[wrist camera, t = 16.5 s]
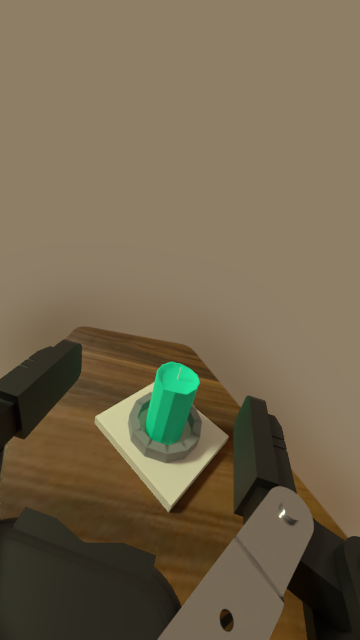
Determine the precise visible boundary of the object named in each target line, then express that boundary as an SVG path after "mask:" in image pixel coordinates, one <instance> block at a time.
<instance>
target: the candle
mask: <svg viewBox="0 0 360 640" xmlns="http://www.w3.org/2000/svg"><path fill="white" fill-rule="evenodd" d="M199 383H200V382H199V379H198V375H197V374H195V373H194V372H193V371H192V370H191V369H189V368H187V367H186V366H184V365H182V364H179V363H175V362H169V363H166V364H164V365H162V366H161V367H160V368H159V369H158V370H157V374H156V378H155V383H154V387H153V391H152V396H151V400H150V405H149V409H148V413H147V418H146V422H145V431H146V433H147V435H148V436H149V438H150V439H151V440H153V441H156V442H159V443H162V444H165V445H171V444H173V443H175V442H177V441H179V439H180V437H181V435H182V433H183V430H184V427H185V424H186V421H187V418H188V415H189V412H190V409H191V407H192V404H193V401H194V398H195V395H196V392H197V389H198V386H199Z"/></svg>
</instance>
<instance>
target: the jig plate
mask: <svg viewBox="0 0 360 640" xmlns="http://www.w3.org/2000/svg"><path fill="white" fill-rule="evenodd" d="M154 383H155V382H154ZM154 383H152V384H151V385H149V386H147V387H146V388H144V389H142V390H140V391H139V392H137V393H135V394H133V395H132V396H130V397H128V398H127V399H125V400H123V401H121V402H120V403H118V404H116V405H115V406H113V407H111V408H109V409H108V410H106V411H104V412H103V413H101V414H99V415H97V416H96V417H95V424H96V425H97V427H98V428H99V429H100V430H101V431H102V433H103V434H104V435H105V436H106V438H107V439H108V440H109V441H110V442H111V444H112V445H113V446H114V447H115V448H116V450H117V451H118V452H119V453H120V454H121V456H122V457H123V458H124V459H125V460H126V462H127V463H128V464H129V465H130V466H131V468H132V469H133V470H134V471H135V472H136V474H137V475H138V476H139V477H140V478H141V480H142V481H143V482H144V483H145V484H146V486H147V487H148V488H149V489H150V490H151V492H152V493H153V494H154V495H155V496H156V498H157V499H158V500H159V501H160V502H161V504H162V505H163V506H164V507H165V508H166V510H167V511H168V512H169V511H170V510H171V509H172V508H173V506H174V505H175V504H176V503H177V501H178V500H179V499H180V498H181V497H182V495H183V494H184V493H185V492H186V490H187V489H188V488H189V487H190V486H191V484H192V483H193V482H194V481H195V479H196V478H197V477H198V476H199V475H200V473H201V472H202V471H203V470H204V468H205V467H206V466H207V465H208V464H209V462H210V461H211V460H212V459H213V457H214V456H215V455H216V454H217V453H218V451H219V450H220V449H221V448H222V446H223V445H224V444H225V443H226V441H227V439H228V437H229V436H228V435H227V434H226V433H224V432H223V431H222V430H221V429H220V428H218V427H217V426H216V425H215V424H214V423H212V422H211V421H210V420H209V419H207V418H206V417H205V416H204V415H203V414H201V413H200V412H199V411H198V410H197V409H196V407H195V406H194V405H193V404H192V407H191V409H190V412H189V415H188V418H187V421H186V424H185V427H184V430H183V433H182V435H181V437H180V439H179V441H177V442H175V443H173V444H171V445H165V444H162V443H159V442H156V441H153V440H151V439H150V438H149V436H148V435H147V433H146V431H145V422H146V418H147V413H148V409H149V405H150V400H151V396H152V391H153V387H154Z"/></svg>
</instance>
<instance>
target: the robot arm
mask: <svg viewBox="0 0 360 640" xmlns="http://www.w3.org/2000/svg"><path fill="white" fill-rule="evenodd" d="M81 364H82V346H81V344H79V343H76V342H72V341H69V340H66V339H65V340H62V341H61V342H60V343H58V344H57V345H56V346H54V347H47V348H44V349H42V350H40V351H37V352H36V353H35V354H33V355H32V356H31V357H29V359H28V360H25V361H24V362H23V363H22V364H21V365H19V366H17V367H16V368H15V369H13V370H12V371H10V372H9V373H8V374H7V375H5V376H4V377H2V378H1V379H0V640H269V638H270V636H271V634H272V632H273V630H274V628H275V625H276V623H277V621H278V619H279V617H280V614H281V612H282V609H283V606H284V599H283V595H284V592H285V590H286V588H287V589H288V590H289V591H290V592H292V593H293V594H294V595H295V596H297V597H298V598H299V599H300V600H301V601H302V603H303V610H304V617H305V624H306V632H307V639H308V640H360V537H357V536H352V537H349V538H348V539H346V540H345V541H344V540H343V539H341V538H340V537H338V536H337V535H336V534H334V533H333V532H331V531H330V530H328V529H327V528H325V527H324V526H322V525H321V524H320V523H318V522H317V521H316V520H315V519H314V518H313V517H312V515H311V513H310V510H309V508H308V507H307V505H306V504H305V502H304V501H303V500H302V499H301V498H300V497H299V496H298V495H297V492H296V489H295V484H294V480H293V475H292V471H291V466H290V462H289V457H288V453H287V451H286V444H285V442H284V435H283V431H282V428H281V425H280V424H279V422H278V421H277V419H276V417H275V416H273V415H270V414H268V412H267V406H266V402H265V401H264V400H262V399H258V398H255V397H252V396H247V397H246V398H245V401H244V403H243V405H242V407H241V409H240V411H239V413H238V415H237V418H236V420H235V424H234V431H233V445H234V514H237V515H240V516H243V524H244V526H243V527H242V529H241V530H240V531H239V533H238V534H237V535H236V537H235V538H234V539H233V540H232V541H231V543H230V544H229V545H228V547H227V548H226V549H225V551H224V552H223V553H222V555H221V556H220V557H219V559H218V560H217V561H216V562H215V564H214V565H213V566H212V568H211V569H210V570H209V572H208V573H207V574H206V576H205V577H204V578H203V580H202V581H201V582H200V584H199V585H198V586H197V588H196V589H195V590H194V592H193V593H192V594H191V596H190V597H189V598H188V600H187V601H186V602H185V604H184V605H183V606H182V607H181V604H180V602H179V599H178V597H177V596H176V594H175V592H174V590H173V588H172V587H171V585H170V584H169V582H168V581H167V579H166V578H165V577H164V576H163V575H162V574H161V573H160V571H158V570H157V569H156V568H155V567H154V562H155V558H156V555H154V554H151V553H148V552H145V551H143V550H140V549H137V548H135V547H132V546H129V545H127V544H124V543H87V542H83V541H82V540H80V539H79V538H78V537H77V536H76V535H75V534H74V533H72V532H71V531H70V530H69V529H68V528H67V527H66V526H65V525H63V524H62V523H61V522H60V521H59V520H58V519H57V518H54V517H51V516H49V515H46V514H43V513H41V512H38V511H35V510H33V509H30V508H27V507H25V509H24V510H23V512H22V513H21V515H20V516H19V517H15V518H7V519H2V520H1V489H2V482H3V475H4V468H5V460H6V453H7V443H8V441H9V440H10V439H11V438H12V437H13V436H15V437H18V438H21V439H25V438H26V437H27V436H28V435H29V434H30V432H31V431H32V430H33V429H34V428H35V427H36V426H37V425H38V424H39V422H40V421H41V420H42V419H43V418H44V417H45V416H46V415H47V413H48V412H49V411H50V410H51V409H52V408H53V407H54V406H55V405H56V403H57V402H58V401H59V400H60V399H61V398H62V397H63V396H64V394H65V393H66V392H67V391H68V390H69V389H70V388H71V387H72V385H73V384H74V383H75V382H76V381H77V379H78V378H79V376H80V373H81Z"/></svg>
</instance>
